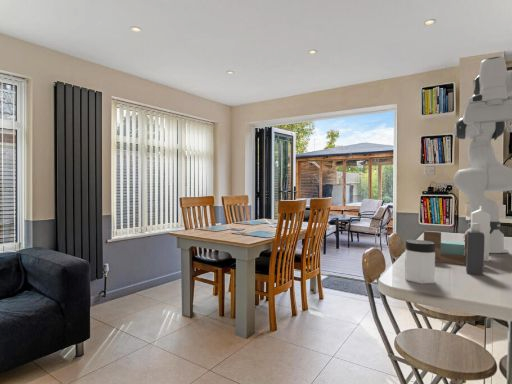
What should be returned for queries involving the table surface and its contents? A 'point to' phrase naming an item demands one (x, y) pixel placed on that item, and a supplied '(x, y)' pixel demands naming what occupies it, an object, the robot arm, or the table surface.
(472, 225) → the grey capped bottle
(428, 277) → the jar
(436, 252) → the brown notched panel
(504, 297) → the table surface
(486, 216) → the milk
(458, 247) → the teal block
